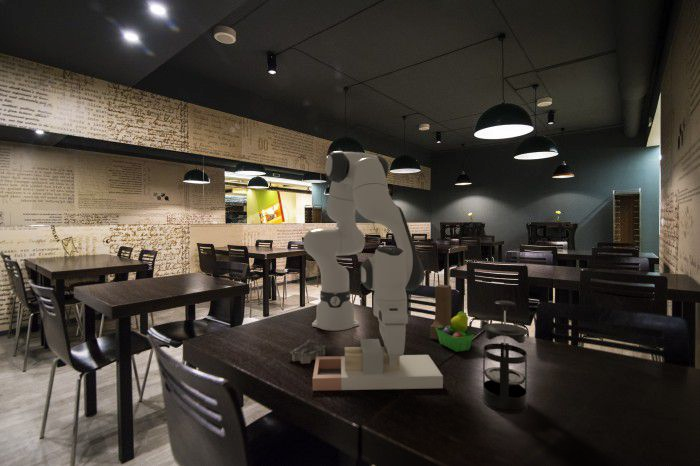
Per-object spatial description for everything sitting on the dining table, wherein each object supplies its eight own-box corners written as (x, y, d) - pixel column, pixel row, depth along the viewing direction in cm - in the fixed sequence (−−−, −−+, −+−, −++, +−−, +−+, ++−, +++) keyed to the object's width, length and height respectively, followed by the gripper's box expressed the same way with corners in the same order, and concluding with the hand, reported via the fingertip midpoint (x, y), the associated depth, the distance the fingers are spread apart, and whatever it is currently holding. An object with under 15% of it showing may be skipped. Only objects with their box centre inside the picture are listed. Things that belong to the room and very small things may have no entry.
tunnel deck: (316, 367, 99) (316, 337, 98) (428, 365, 100) (428, 336, 99) (312, 390, 85) (312, 356, 84) (442, 388, 86) (442, 354, 85)
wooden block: (441, 341, 120) (441, 289, 120) (429, 338, 123) (429, 287, 122) (451, 334, 127) (451, 285, 127) (439, 332, 130) (439, 284, 129)
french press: (528, 419, 72) (529, 308, 71) (480, 409, 76) (480, 304, 75) (526, 394, 82) (526, 297, 82) (483, 386, 86) (484, 294, 86)
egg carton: (311, 350, 113) (311, 337, 113) (329, 355, 108) (329, 342, 108) (287, 360, 104) (287, 346, 104) (305, 366, 100) (305, 352, 100)
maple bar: (344, 361, 95) (344, 347, 95) (395, 360, 95) (395, 346, 95) (345, 370, 89) (345, 355, 89) (399, 369, 89) (399, 354, 89)
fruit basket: (434, 342, 119) (434, 309, 118) (455, 339, 122) (455, 307, 122) (455, 354, 108) (455, 318, 108) (478, 350, 111) (478, 315, 111)
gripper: (374, 300, 102) (374, 346, 102) (383, 318, 82) (383, 377, 82) (395, 299, 102) (395, 346, 103) (409, 318, 82) (409, 376, 82)
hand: (390, 360), depth 92 cm, fingers closed on maple bar, 6 cm apart
